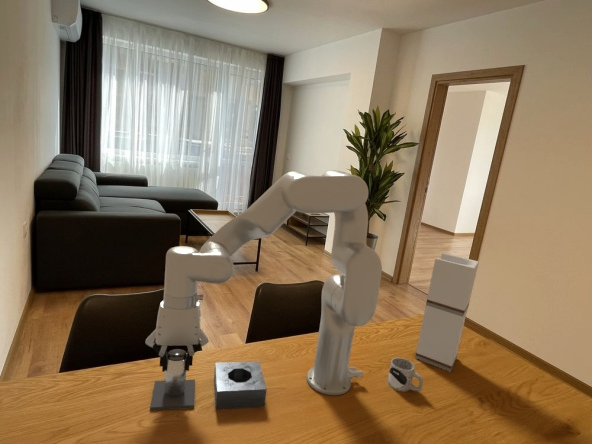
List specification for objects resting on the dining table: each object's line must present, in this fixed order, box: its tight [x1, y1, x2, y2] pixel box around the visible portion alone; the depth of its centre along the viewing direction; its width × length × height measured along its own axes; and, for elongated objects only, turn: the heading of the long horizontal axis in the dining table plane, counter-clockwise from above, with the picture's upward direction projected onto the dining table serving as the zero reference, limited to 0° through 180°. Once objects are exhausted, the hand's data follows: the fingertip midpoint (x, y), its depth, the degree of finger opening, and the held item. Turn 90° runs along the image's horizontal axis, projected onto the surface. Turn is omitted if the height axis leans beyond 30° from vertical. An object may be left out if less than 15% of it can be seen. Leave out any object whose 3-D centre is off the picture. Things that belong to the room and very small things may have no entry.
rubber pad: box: [149, 379, 196, 411], centre depth 95 cm, size 10×10×1 cm
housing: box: [213, 361, 268, 411], centre depth 98 cm, size 12×12×5 cm
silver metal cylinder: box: [163, 348, 187, 395], centre depth 94 cm, size 5×5×10 cm
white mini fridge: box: [414, 252, 479, 373], centre depth 125 cm, size 11×11×35 cm
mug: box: [387, 357, 424, 393], centre depth 110 cm, size 10×7×7 cm
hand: (176, 367), depth 93 cm, fingers closed on silver metal cylinder, 4 cm apart
